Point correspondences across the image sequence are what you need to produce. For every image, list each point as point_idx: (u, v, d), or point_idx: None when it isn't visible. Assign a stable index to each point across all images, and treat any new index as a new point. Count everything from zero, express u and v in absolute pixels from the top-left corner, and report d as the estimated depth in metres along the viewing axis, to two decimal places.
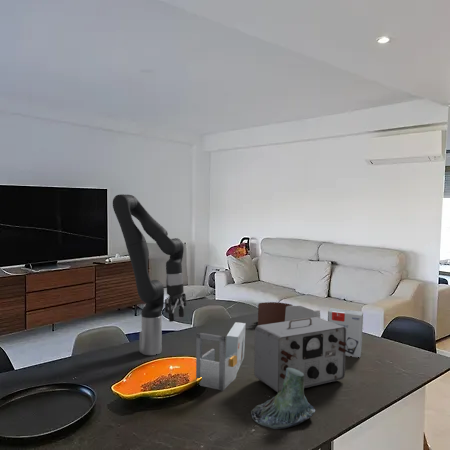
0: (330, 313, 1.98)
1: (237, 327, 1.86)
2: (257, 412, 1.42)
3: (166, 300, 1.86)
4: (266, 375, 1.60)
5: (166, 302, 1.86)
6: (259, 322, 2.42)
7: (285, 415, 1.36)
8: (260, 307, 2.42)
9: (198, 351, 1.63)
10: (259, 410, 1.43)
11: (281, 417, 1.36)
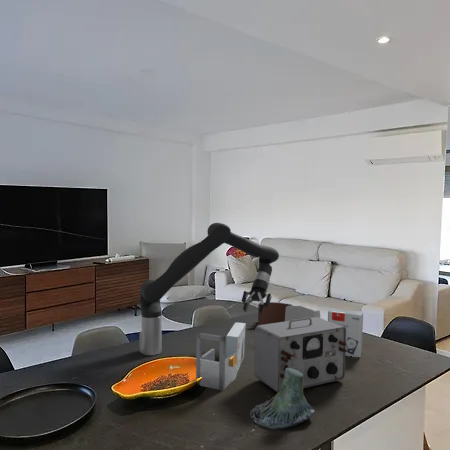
0: (330, 313, 1.98)
1: (237, 327, 1.86)
2: (256, 412, 1.42)
3: (270, 295, 2.04)
4: (266, 375, 1.60)
5: (270, 296, 2.03)
6: (259, 322, 2.42)
7: (284, 415, 1.36)
8: None
9: (198, 351, 1.63)
10: (258, 410, 1.43)
11: (280, 417, 1.36)
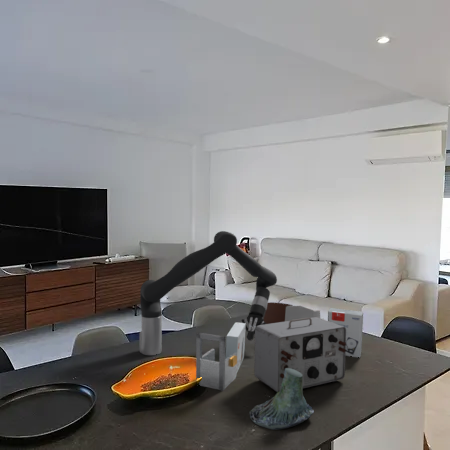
0: (330, 313, 1.98)
1: (237, 327, 1.86)
2: (255, 412, 1.42)
3: None
4: (266, 375, 1.60)
5: None
6: None
7: (283, 416, 1.36)
8: None
9: (198, 351, 1.63)
10: (258, 410, 1.43)
11: (279, 417, 1.36)
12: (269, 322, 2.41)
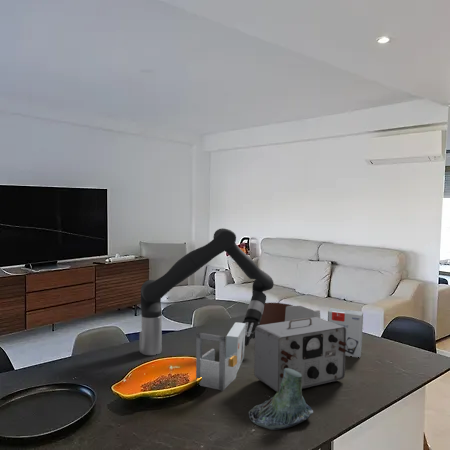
0: (330, 313, 1.98)
1: (237, 327, 1.86)
2: (255, 412, 1.42)
3: None
4: (266, 375, 1.60)
5: None
6: None
7: (282, 416, 1.35)
8: None
9: (198, 351, 1.63)
10: (257, 410, 1.43)
11: (278, 418, 1.36)
12: (269, 322, 2.40)
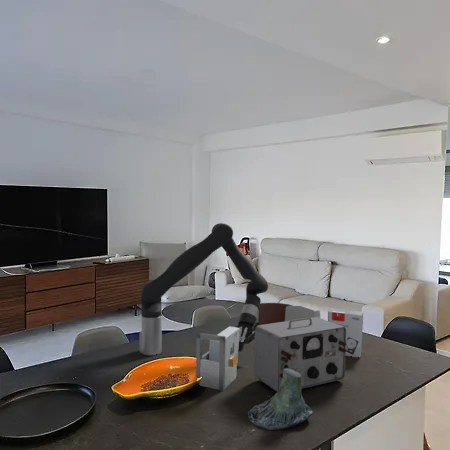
0: (330, 313, 1.98)
1: (227, 332, 1.79)
2: (254, 413, 1.42)
3: None
4: (266, 375, 1.60)
5: (254, 336, 1.89)
6: (260, 323, 2.41)
7: (281, 416, 1.35)
8: (261, 307, 2.41)
9: (198, 351, 1.63)
10: (256, 411, 1.43)
11: (277, 418, 1.36)
12: (269, 322, 2.40)
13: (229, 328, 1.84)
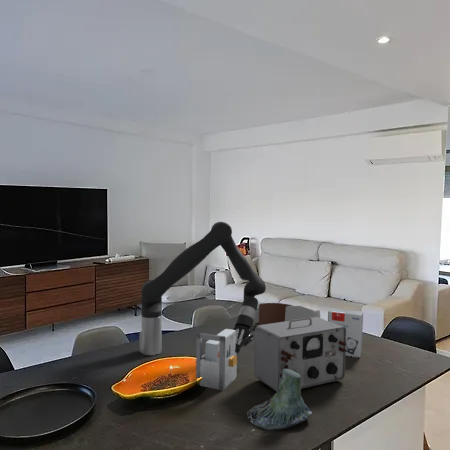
0: (330, 313, 1.98)
1: (223, 334, 1.75)
2: (253, 413, 1.42)
3: (253, 337, 1.86)
4: (266, 375, 1.60)
5: (251, 338, 1.85)
6: (260, 323, 2.41)
7: (281, 416, 1.35)
8: (261, 307, 2.40)
9: (198, 351, 1.63)
10: (256, 411, 1.42)
11: (277, 418, 1.35)
12: (270, 322, 2.40)
13: (225, 330, 1.81)
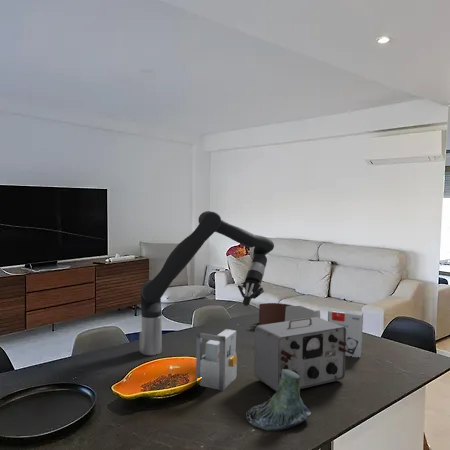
0: (330, 313, 1.98)
1: (224, 334, 1.75)
2: (252, 413, 1.41)
3: (262, 290, 1.95)
4: (266, 375, 1.60)
5: (261, 291, 1.95)
6: (260, 323, 2.40)
7: (279, 417, 1.35)
8: (262, 307, 2.40)
9: (198, 351, 1.63)
10: (255, 411, 1.42)
11: (275, 419, 1.35)
12: (270, 323, 2.39)
13: (226, 331, 1.80)
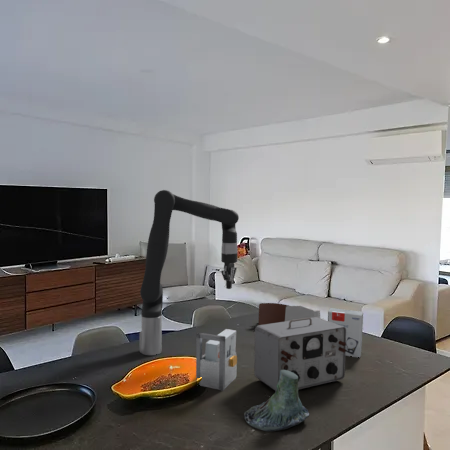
0: (330, 313, 1.98)
1: (223, 334, 1.75)
2: (251, 413, 1.41)
3: (222, 272, 1.97)
4: (266, 375, 1.60)
5: (223, 274, 1.98)
6: (259, 322, 2.41)
7: (277, 418, 1.34)
8: (261, 307, 2.41)
9: (198, 351, 1.63)
10: (253, 411, 1.42)
11: (273, 419, 1.35)
12: (269, 323, 2.40)
13: (226, 331, 1.80)
